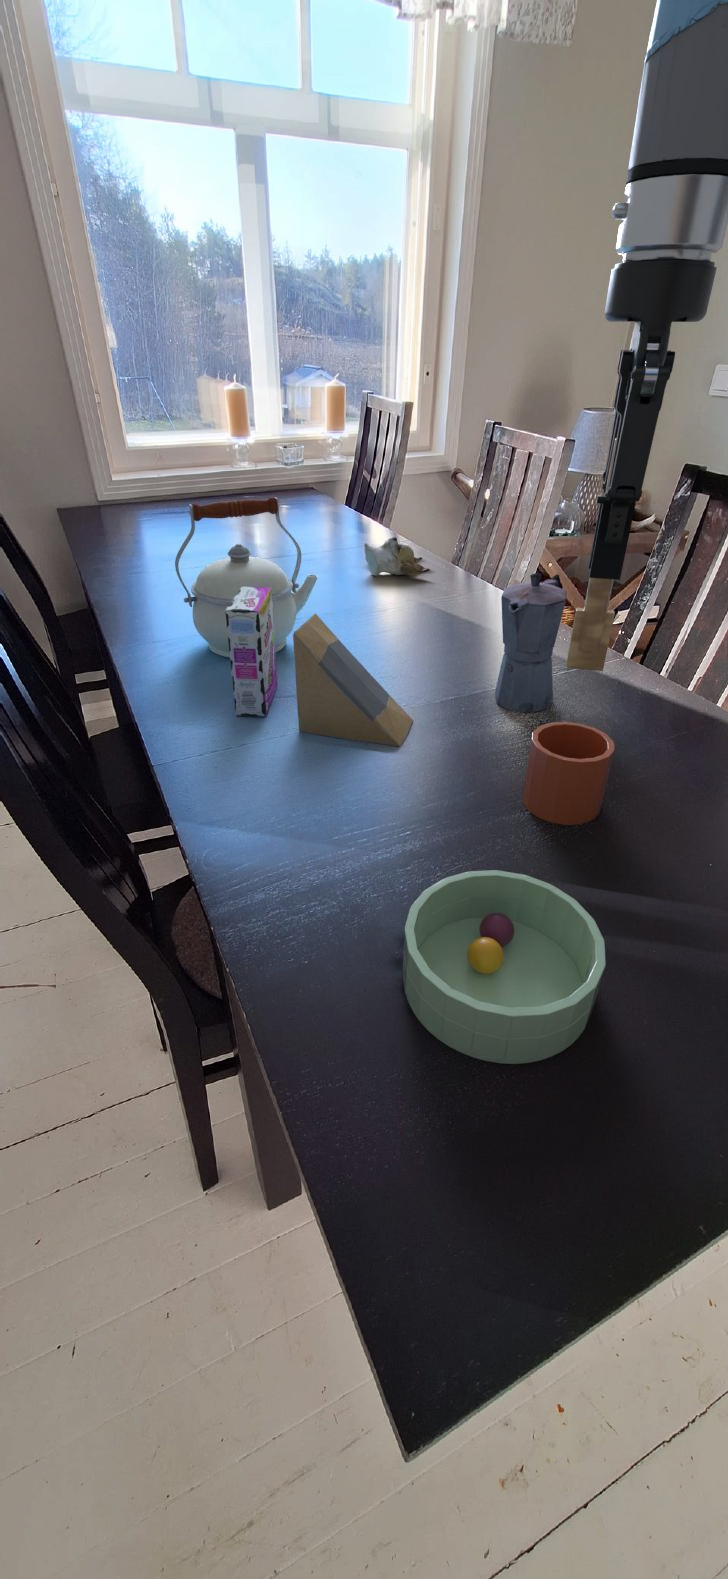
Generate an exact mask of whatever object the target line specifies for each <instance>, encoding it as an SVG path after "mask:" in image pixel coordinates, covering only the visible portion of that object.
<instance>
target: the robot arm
mask: <svg viewBox="0 0 728 1579" xmlns="http://www.w3.org/2000/svg"><path fill="white" fill-rule="evenodd" d="M638 96H639V97H638V104H637V110H636V115H635V122H634V129H633V136H632V142H631V148H630V155H629V162H628V168H627V175H626V181H625V185H626V187H625V191H624V194H623V196H624V199H625V202H617V203H615V204H614V206H613V208H612V213H611V216H612V218H613V219H614V220H622V221H623V222H622V223H621V224H620V225H619V226H618V233H617V240H616V245H615V251H616V253H617V255H619V256H622V261H621V262H619V263H616V264H614V268H611V270H610V277H609V283H608V289H607V295H606V301H605V308H604V317H605V318H604V319H605V320H606V321H608V322H610V323H611V322H612V323H634V326H633V331H632V334H631V340H630V345H629V349H620V351H619V355H618V360H617V366H616V371H617V375H618V376H617V382H616V388H615V393H614V399H613V407H614V415H613V416H614V417H613V421H612V427H611V435H610V440H609V445H608V451H607V457H606V462H605V468H604V471H603V473H602V481H603V483H602V486H601V489H602V493H603V494H601V495H599V494H597V496H596V502H595V503H596V504H599V507H598V513H597V518H596V523H595V529H594V533H593V539H592V547H591V549H590V550H591V551H590V557H589V560H588V569H589V575H588V576H589V578H601V579H614V580H617V581H620V580H621V578H622V577H621V576H622V571H623V568H624V562H625V558H626V552H627V548H628V543H629V539H630V534H631V530H632V529H631V528H632V524H633V519H634V514H635V511H636V510H635V509H636V503H637V502H639V501H641V498H642V495H643V485H644V481H645V478H646V477H645V476H646V471H647V468H648V463H649V459H650V454H651V450H652V445H653V441H654V436H655V433H656V429H657V424H658V419H659V414H660V412H661V409H662V406H663V401H664V395H665V391H666V387H667V383H668V381H669V380H670V378H671V375H672V372H673V369H674V368H673V367H674V363H675V359H676V351H675V350H669V343H670V336H671V328H672V323H696V322H700V321H702V320H703V319H704V318H706V315H707V313H708V308H709V304H710V299H711V294H712V291H713V286H714V282H715V278H716V272H717V269H718V268H717V266H716V265H715V264H716V263H715V261H712V257H713V254H716V253H717V252H718V251H720V250H721V249H723V246H724V241H725V237H726V233H727V229H728V0H656V2H655V7H654V14H653V17H652V22H651V27H650V34H649V38H648V43H647V48H646V53H645V58H644V63H643V70H642V77H641V83H640V90H639V95H638ZM615 438H617V439H616V444H615V450H614V455H613V461H612V467H611V472H610V478H609V484H608V489H607V492H606V493H605V491H606V485H607V480H608V474H609V469H610V463H611V458H612V452H613V447H614V441H615ZM589 578H588V579H589Z"/></svg>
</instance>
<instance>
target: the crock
mask: <svg viewBox="0 0 728 1579" xmlns="http://www.w3.org/2000/svg"><path fill="white" fill-rule="evenodd" d="M530 738H531V739H530V745H529V751H528V757H527V762H526V763H527V764H526V770H525V776H524V782H523V787H522V788H523V789H522V796H521V802H522V804H523V805H524V807H525V809H526V810H527V811H528V812H530V813H531V814H532V815H533V816H535V817H537V818H539V819H541V820H544V821H546V822H549V823H551V824H558V825H565V826H573V825H574V826H575V825H583V824H586V823H588V822H590V821H593V820H595V819H596V817H597V816H598V815H599V814H600V812H601V808H602V804H603V800H604V796H605V792H606V787H607V783H608V779H609V775H610V772H611V767H612V762H613V758H614V754H615V742H614V740H613V739H612V738H611V737H610V736H609V735H608V734H607V733H605V732H603V731H601V730H600V729H598V728H597V727H593V726H590V725H587V724H583V723H580V722H570V721H557V722H548V723H546V724H542V725H539V726H538V727H537V728H535V729H534V730H533V731H532V733H531V737H530Z"/></svg>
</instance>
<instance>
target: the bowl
mask: <svg viewBox="0 0 728 1579" xmlns="http://www.w3.org/2000/svg"><path fill="white" fill-rule="evenodd" d="M491 913H502V914H504V915H506V916H507V917H509V918H510V920H511V921H512V923H513V925H514V936H513V939H512V940H511V942H510V943H509V944H508V945H506V946H504V947H501V948H502V950H503V955H504V956H503V962H502V965H501V966H500V968H499V969H498V970H496V971H495V972H493V973H489V974H483V973H479V972H477V971H476V970H474V969H473V968H472V967H471V965H470V964H469V962H468V958H467V951H468V948H469V946H470V944H471V943H472V942H473V941H474V940H476V939H478V938H480V937H481V936H480V931H479V928H480V924H481V921H482V920H483V918H484V917H485V916H487V915H489V914H491ZM402 952H403V954H402V970H401V972H402V978H403V979H402V980H403V983H402V984H403V989H404V994H405V996H406V1000H407V1002H408V1003H407V1004H409V1005H408V1006H409V1007H410V1008H411V1010H412V1012H413V1014H414V1016H415V1017H416V1019H417V1020H418V1021H419V1023H420V1024H421V1025H422V1026H423V1027H424V1028H425V1029H426V1031H427V1032H429V1033H430V1034H432V1036H434V1037H435V1038H436V1039H437V1040H439V1041H440V1042H441V1043H443V1044H445V1045H446V1046H447V1047H449V1048H451V1049H453V1050H455V1051H457V1052H458V1053H461V1054H463V1055H466V1056H468V1057H470V1058H472V1059H477V1060H481V1061H485V1062H490V1063H496V1064H507V1065H519V1064H530V1063H534V1062H540V1061H542V1060H546V1059H549V1058H552V1057H554V1056H555V1055H558V1054H560V1053H561V1052H563V1051H565V1050H566V1049H567V1048H570V1046H572V1045H573V1044H574V1043H575V1042H576V1041H577V1040H578V1039H579V1038H580V1037H581V1035H582V1034H583V1032H584V1031H585V1030H586V1027H587V1025H588V1022H589V1020H590V1018H591V1015H592V1013H593V1011H594V1008H595V1004H596V1000H597V996H598V994H599V990H600V986H601V984H602V980H603V977H604V973H605V969H606V967H607V966H606V965H607V962H606V942H605V939H604V937H603V935H602V933H601V931H600V929H599V927H598V924H597V923H596V920H595V919H594V918H593V917H592V915H590V914H589V912H588V911H587V910H586V909H585V907H583V906H582V905H581V904H580V903H579V902H578V900H576V899H575V898H573V897H572V896H570V895H569V894H567V892H564V891H562V890H561V889H560V888H558V887H556V886H555V885H553V884H551V883H548V882H546V881H543V880H541V879H539V878H535V877H532V876H529V875H527V874H523V873H517V872H510V871H504V870H497V869H491V870H490V869H487V870H469V871H464V872H462V873H458V874H454V875H451V876H447V877H445V878H442V879H440V880H439V881H438V882H435V883H433V885H431V886H429V887H427V888H426V889H424V890H423V891H422V892H421V893H420V895H419V896H418V897H417V899H416V900H415V901H413V903H412V905H411V906H410V907H409V910H408V915H407V918H406V922H405V924H404V934H403V951H402Z"/></svg>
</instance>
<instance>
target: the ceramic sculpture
mask: <svg viewBox="0 0 728 1579" xmlns="http://www.w3.org/2000/svg"><path fill="white" fill-rule="evenodd" d="M363 547H364V557H365V558H364V560H365V562H366V563H367V566H368V570H369V572H370V574H371V575H373V576H375V577H377V576H379V575H380V574H381V573H386V574H387V573H388V574H391V575H393V574H395V575H396V576H402V575H408V576H418V575H423V574H425V573H428V572H430V571H431V569H430V568H427V567H424V566H423V565H422V564H420V563H419V562H421V561H422V560H423V557H420V556H419V557H416V556H415V552H414V549H413V548H412V546H411V545H410V544H408V543H407V542H404V541H402V542H400V541H398V538H397V536H395V537H390V538H388V539H387V540H385V541H384V543H383V544H381V545H374V544H371V543H367V542H366V543H365V542H364V545H363ZM395 575H394V576H395Z"/></svg>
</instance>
